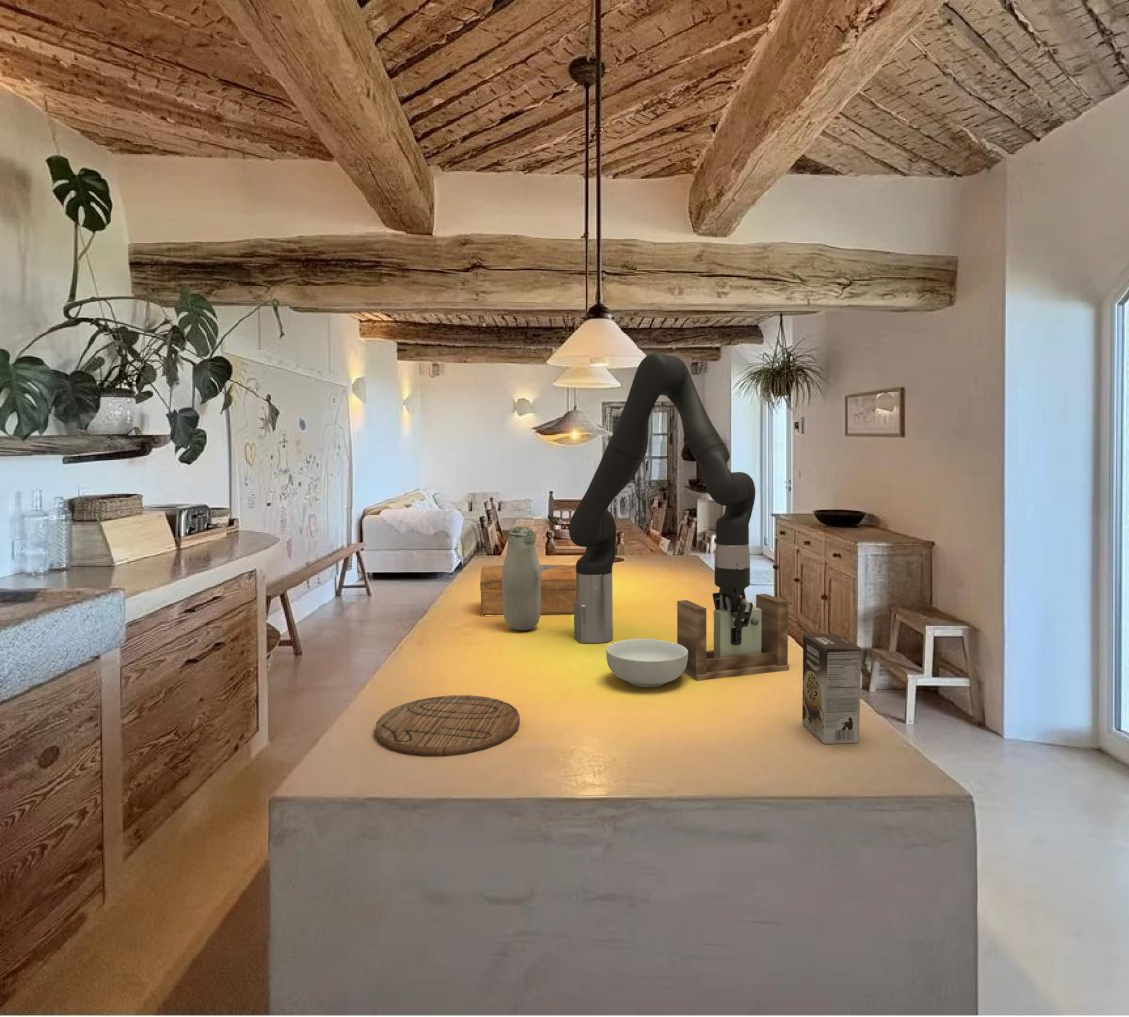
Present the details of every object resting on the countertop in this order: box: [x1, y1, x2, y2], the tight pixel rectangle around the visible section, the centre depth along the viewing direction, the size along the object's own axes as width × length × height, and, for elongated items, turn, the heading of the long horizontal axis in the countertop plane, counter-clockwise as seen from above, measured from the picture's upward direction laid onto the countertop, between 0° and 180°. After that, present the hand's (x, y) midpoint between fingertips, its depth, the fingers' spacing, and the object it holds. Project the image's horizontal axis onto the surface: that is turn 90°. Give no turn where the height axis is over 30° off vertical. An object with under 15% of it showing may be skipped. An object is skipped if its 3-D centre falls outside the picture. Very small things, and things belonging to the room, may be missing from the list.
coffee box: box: [801, 633, 862, 745], centre depth 125 cm, size 9×6×16 cm
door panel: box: [713, 606, 762, 658], centre depth 162 cm, size 10×4×12 cm, turn 107°
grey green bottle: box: [502, 526, 541, 632], centre depth 200 cm, size 10×10×28 cm
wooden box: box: [479, 564, 576, 617], centre depth 224 cm, size 30×16×14 cm, turn 89°
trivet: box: [375, 694, 521, 757], centre depth 131 cm, size 25×25×2 cm
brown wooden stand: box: [676, 593, 790, 682], centre depth 162 cm, size 22×10×15 cm, turn 107°
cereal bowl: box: [605, 638, 688, 688], centre depth 155 cm, size 17×17×7 cm
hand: (732, 642), depth 163 cm, fingers closed on door panel, 3 cm apart
